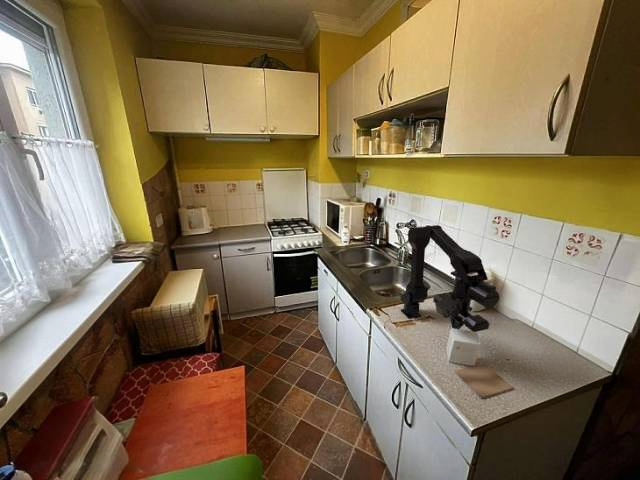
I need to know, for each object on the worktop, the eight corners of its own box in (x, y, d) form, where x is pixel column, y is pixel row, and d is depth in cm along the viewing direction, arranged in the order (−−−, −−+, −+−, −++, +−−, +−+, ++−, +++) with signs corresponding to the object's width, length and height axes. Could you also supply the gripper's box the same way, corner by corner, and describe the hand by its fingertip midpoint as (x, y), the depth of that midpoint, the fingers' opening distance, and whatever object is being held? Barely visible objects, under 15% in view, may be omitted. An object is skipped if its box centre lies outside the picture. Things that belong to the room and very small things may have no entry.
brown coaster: (454, 372, 83) (455, 370, 83) (484, 364, 86) (484, 362, 86) (481, 399, 74) (481, 397, 74) (512, 388, 77) (513, 387, 77)
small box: (470, 353, 90) (477, 331, 85) (474, 367, 85) (481, 344, 81) (445, 348, 92) (450, 327, 87) (448, 362, 87) (453, 340, 83)
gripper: (423, 282, 91) (418, 319, 96) (465, 311, 74) (456, 355, 79) (449, 278, 94) (442, 315, 99) (495, 305, 77) (484, 348, 82)
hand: (454, 331), depth 89 cm, fingers closed
